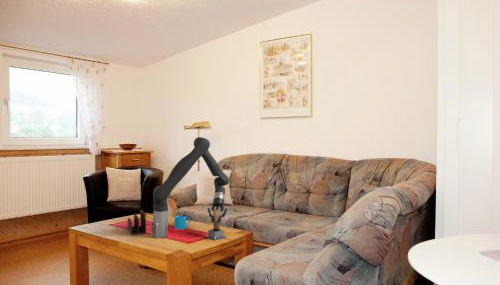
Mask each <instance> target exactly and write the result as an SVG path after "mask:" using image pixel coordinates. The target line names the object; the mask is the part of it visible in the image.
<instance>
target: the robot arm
mask: <svg viewBox="0 0 500 285" xmlns="http://www.w3.org/2000/svg"><path fill="white" fill-rule="evenodd" d="M210 146H211V142H210V141H209V139H207V138H206V137H203V136H198V137H196V138H195V139H194V141H193V149H192V150H191V151H190V152H189V153H188V154H186V155H185V156H184V157H182V158H181V159H180V160H179V161H178V162H177V163H176V164H175V165H174V166H173V168H172V169H171V171H170V173H169V175H168V177H167V178H166V180H165V181H164V182H163V183H162V184H161V185H157V186H155V187H154V189H153V192H152V206H153V220H152V222H151V236H152V237H153V238H154V239H163V238H167V237H168V235H169V234H168V228H169V222H168V221H169V217H168V216H169V206H168V197H169V196H170V195H171V193H172V191H173V190H174V188H176V186H177V185H178V184H179V183H180V182H181V181H182V180H183V179H184V178H185V176H186V175H187V174H188V173H189V171H190V170H191V169H192V168H193V167H194V165H196V163H197V161H198V160H199V159H201V158H202V159H203V161H204V163H205V164H206V166H207V168H208V169H209V171H210V174H211V175H212V176H213V177H215V178H214V180H213V184H214V185H213V186H214V195H213V200H212V206H211V207H210V208H209V207H207V212H208V217H210V218H211V220H210V221H211V223H213V224H214V210H215V209H218V210H219V220H218V222H219V224H220V223H221V222H222V218H225V216H226V215H227V213H228V208H225V206H224V205H225V199H226V197H225V195H226V188H225V187H224V186H227V185H229V183H230V179H229V177H228V176H227V174H226V173H225V172H224V171H223V170H222V169H221V168H220V165H219V164H218V162H217V161H216V159H215V158H214V157H213V155H212V154H211V153H210V150H209V148H210ZM211 211H212V212H211Z"/></svg>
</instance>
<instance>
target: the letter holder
mask: <svg viewBox="0 0 500 285" xmlns="http://www.w3.org/2000/svg"><path fill="white" fill-rule="evenodd" d="M139 215H140V217H139V216H138V214H136V213H134V214H133V222H132V219H131V218H129V217H127V221H126V222H127V225H126V226H127V231H129V232H128V233H129V234H130V236H135V235H136V236H137V235H146V234H147V218H146V217H147V215H146V213H145V211H144V210H143V209H140V210H139Z"/></svg>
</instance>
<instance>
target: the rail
mask: <svg viewBox="0 0 500 285" xmlns="http://www.w3.org/2000/svg"><path fill="white" fill-rule="evenodd" d="M218 220H219V210H218V209H215V210H214V222H213V229H214V231H215V232H216V231H219V229H220V223H219V222H218Z"/></svg>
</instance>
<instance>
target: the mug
mask: <svg viewBox="0 0 500 285" xmlns="http://www.w3.org/2000/svg"><path fill="white" fill-rule="evenodd" d="M187 219H188V223H187ZM190 223H191V219H190V218H189V217H187V216H186V215H176V216H174V229H175V230H185V229H186V228H187V227H188V226H189V225H190Z"/></svg>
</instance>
